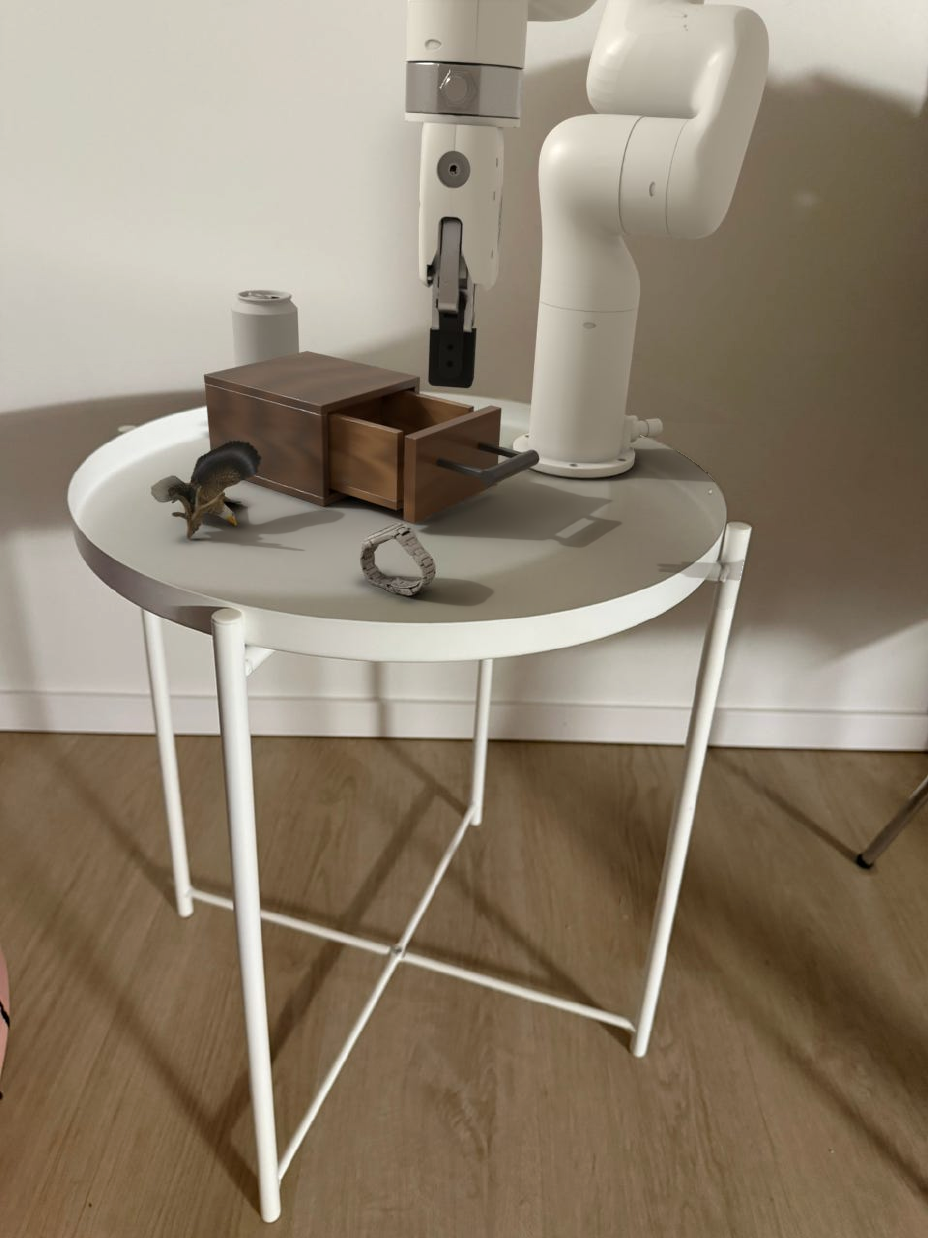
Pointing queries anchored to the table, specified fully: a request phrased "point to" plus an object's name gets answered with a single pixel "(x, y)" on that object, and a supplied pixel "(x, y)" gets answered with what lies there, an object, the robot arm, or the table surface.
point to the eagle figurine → (209, 483)
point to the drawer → (418, 452)
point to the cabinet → (293, 414)
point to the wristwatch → (411, 546)
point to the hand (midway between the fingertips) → (451, 383)
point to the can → (264, 326)
